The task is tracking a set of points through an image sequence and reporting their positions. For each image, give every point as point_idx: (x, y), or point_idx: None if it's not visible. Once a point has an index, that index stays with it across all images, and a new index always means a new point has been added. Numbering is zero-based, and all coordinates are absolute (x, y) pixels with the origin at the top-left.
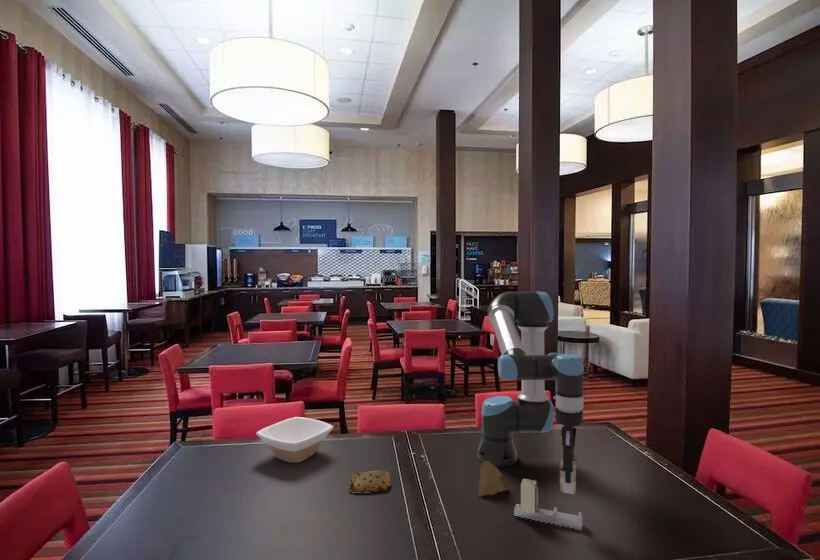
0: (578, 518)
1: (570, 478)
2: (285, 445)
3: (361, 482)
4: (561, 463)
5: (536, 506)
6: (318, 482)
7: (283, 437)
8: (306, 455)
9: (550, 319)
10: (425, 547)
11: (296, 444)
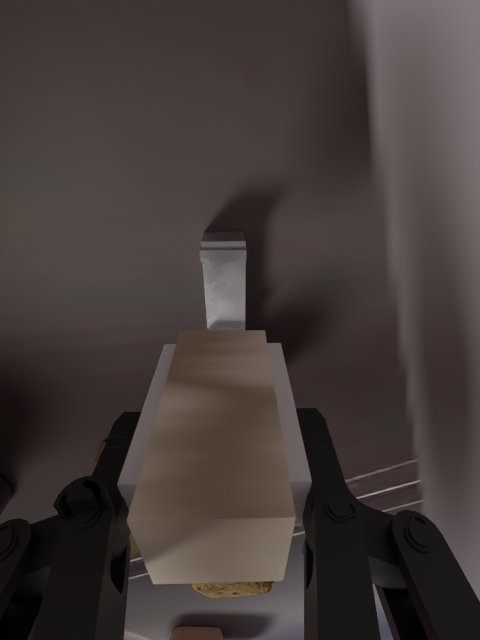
0: (245, 258)
1: (327, 442)
2: None
3: (251, 594)
4: (257, 578)
5: None
6: (257, 605)
7: None
8: (203, 636)
9: None
10: (403, 496)
11: None
